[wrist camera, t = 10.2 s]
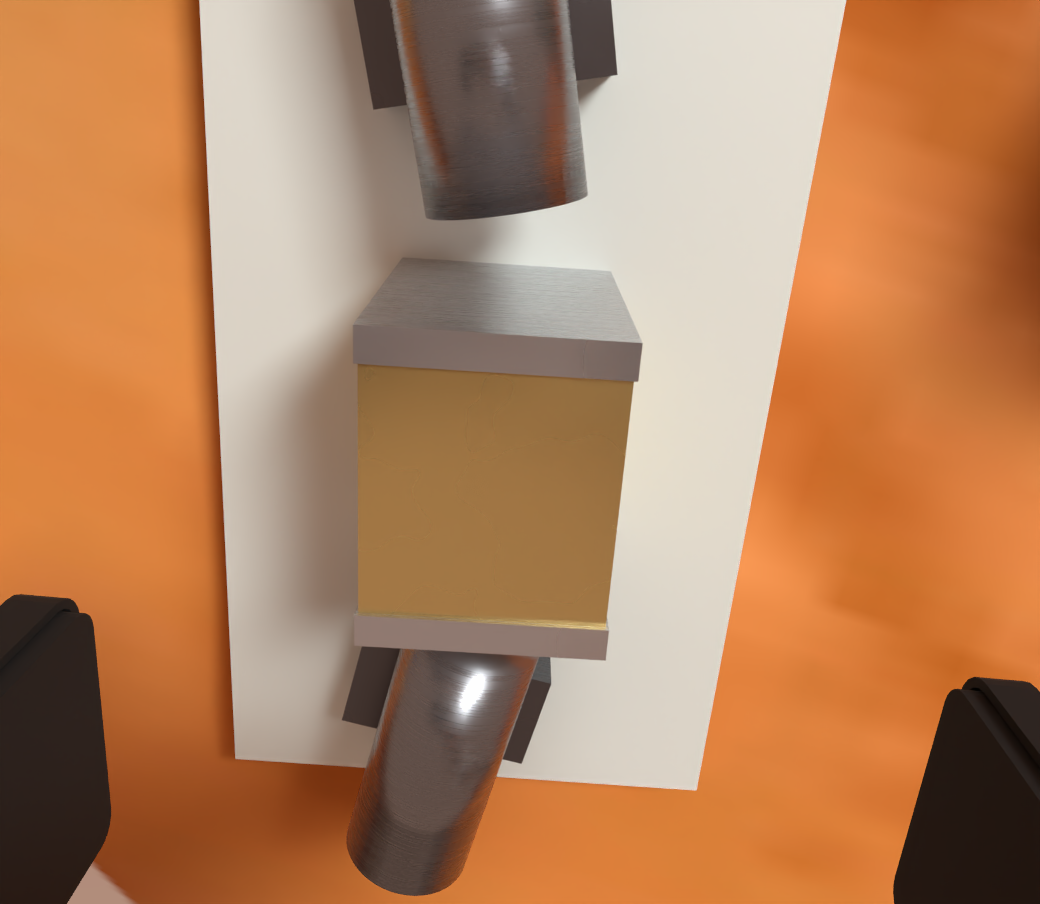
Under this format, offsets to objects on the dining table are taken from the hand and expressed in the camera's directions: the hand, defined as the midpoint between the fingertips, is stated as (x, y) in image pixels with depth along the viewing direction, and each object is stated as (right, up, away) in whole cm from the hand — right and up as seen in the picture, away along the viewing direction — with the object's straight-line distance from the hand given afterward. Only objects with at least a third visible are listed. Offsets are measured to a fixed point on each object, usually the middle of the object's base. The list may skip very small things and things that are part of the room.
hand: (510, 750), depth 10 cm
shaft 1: (0, +11, +7) cm, 13 cm away
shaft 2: (-2, -2, +12) cm, 13 cm away
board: (0, +5, +11) cm, 12 cm away
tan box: (0, +5, +10) cm, 11 cm away
